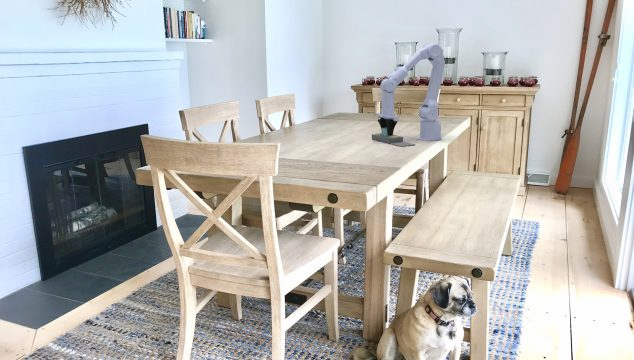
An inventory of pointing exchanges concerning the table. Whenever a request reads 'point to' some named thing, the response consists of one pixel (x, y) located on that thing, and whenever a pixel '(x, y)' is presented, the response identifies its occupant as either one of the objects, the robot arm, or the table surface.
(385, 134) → the plug
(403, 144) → the mat
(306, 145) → the table surface
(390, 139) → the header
